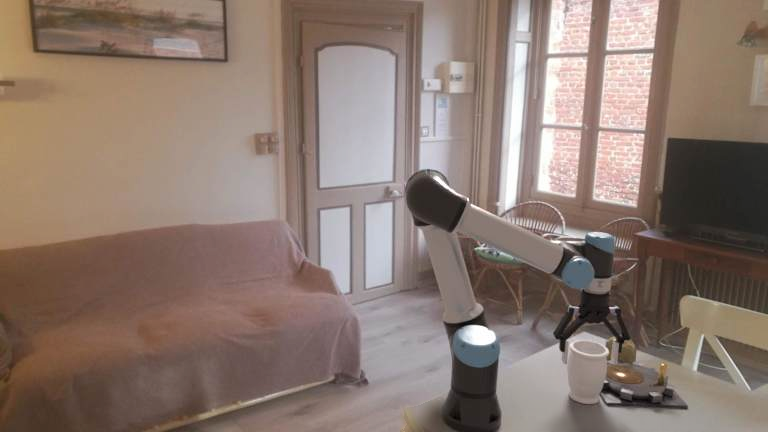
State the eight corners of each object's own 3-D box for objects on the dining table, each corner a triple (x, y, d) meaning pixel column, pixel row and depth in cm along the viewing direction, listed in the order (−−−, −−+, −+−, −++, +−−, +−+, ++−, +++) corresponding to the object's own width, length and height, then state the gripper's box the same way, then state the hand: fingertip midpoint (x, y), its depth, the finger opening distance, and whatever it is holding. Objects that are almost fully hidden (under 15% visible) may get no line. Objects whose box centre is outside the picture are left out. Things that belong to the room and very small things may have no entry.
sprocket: (585, 388, 169) (588, 362, 167) (601, 359, 187) (604, 336, 186) (668, 410, 158) (672, 383, 157) (676, 378, 177) (680, 353, 175)
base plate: (582, 367, 184) (582, 364, 184) (653, 370, 184) (654, 367, 183) (606, 405, 163) (606, 401, 162) (687, 408, 162) (688, 404, 162)
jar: (606, 409, 161) (612, 358, 157) (566, 404, 162) (571, 353, 159) (600, 390, 171) (605, 341, 167) (563, 385, 173) (567, 337, 169)
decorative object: (621, 363, 196) (607, 335, 198) (648, 356, 189) (633, 327, 190) (608, 374, 190) (593, 345, 192) (635, 368, 183) (619, 337, 184)
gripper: (552, 293, 156) (546, 367, 161) (648, 295, 156) (639, 369, 160) (545, 284, 164) (540, 355, 168) (636, 285, 163) (629, 357, 168)
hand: (588, 362), depth 164 cm, fingers open, 13 cm apart
